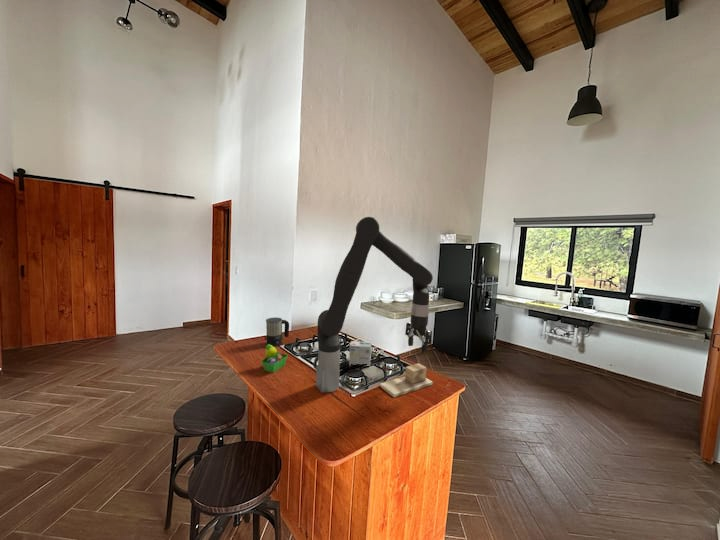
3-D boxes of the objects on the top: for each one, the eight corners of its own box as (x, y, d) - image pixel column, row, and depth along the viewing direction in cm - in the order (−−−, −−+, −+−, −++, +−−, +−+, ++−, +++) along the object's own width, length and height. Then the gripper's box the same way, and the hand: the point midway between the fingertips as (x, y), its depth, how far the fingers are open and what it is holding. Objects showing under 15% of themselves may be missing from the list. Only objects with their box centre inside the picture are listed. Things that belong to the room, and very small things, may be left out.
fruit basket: (273, 374, 134) (273, 351, 132) (258, 370, 137) (258, 347, 135) (288, 364, 144) (288, 342, 143) (273, 361, 147) (273, 339, 146)
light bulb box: (370, 361, 151) (371, 341, 149) (369, 367, 144) (370, 346, 143) (350, 360, 152) (351, 340, 150) (348, 365, 145) (349, 345, 144)
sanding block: (412, 384, 126) (413, 371, 126) (404, 379, 131) (405, 366, 130) (425, 380, 131) (426, 367, 130) (418, 375, 135) (418, 363, 134)
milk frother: (273, 348, 164) (273, 322, 162) (254, 342, 172) (254, 317, 170) (291, 340, 176) (291, 317, 174) (273, 335, 184) (273, 312, 182)
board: (393, 397, 118) (394, 394, 118) (379, 386, 126) (379, 383, 126) (432, 384, 130) (432, 381, 129) (417, 374, 138) (417, 372, 138)
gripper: (402, 310, 131) (400, 344, 133) (424, 318, 119) (422, 356, 121) (415, 309, 135) (412, 342, 136) (437, 317, 123) (434, 353, 124)
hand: (417, 349), depth 128 cm, fingers open, 8 cm apart
